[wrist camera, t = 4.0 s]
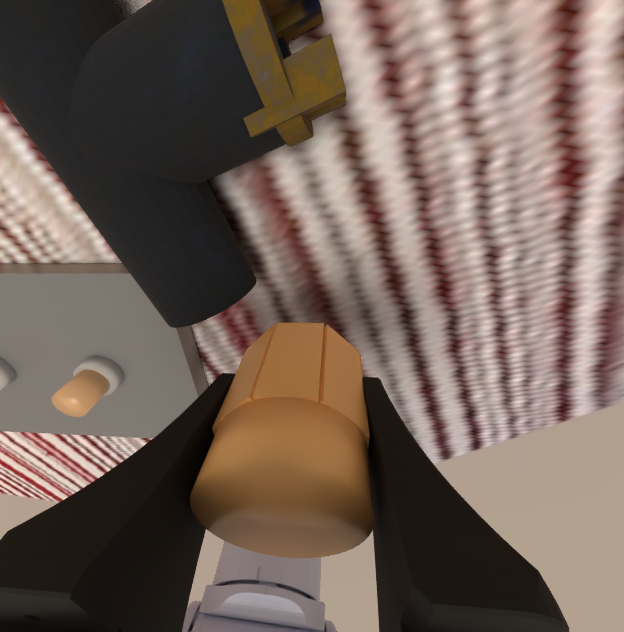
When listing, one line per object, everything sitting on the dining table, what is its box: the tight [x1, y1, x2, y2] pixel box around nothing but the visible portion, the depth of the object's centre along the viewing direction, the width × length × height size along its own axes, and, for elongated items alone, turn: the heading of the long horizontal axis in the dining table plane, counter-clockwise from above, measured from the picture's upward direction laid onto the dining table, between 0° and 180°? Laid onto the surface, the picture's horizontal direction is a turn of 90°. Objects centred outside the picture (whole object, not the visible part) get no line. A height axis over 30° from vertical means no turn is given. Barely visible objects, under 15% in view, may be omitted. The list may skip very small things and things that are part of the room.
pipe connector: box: [0, 0, 346, 328], centre depth 11 cm, size 12×5×15 cm
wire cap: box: [190, 323, 375, 558], centre depth 10 cm, size 5×5×6 cm
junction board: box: [0, 264, 208, 438], centre depth 19 cm, size 14×20×4 cm
